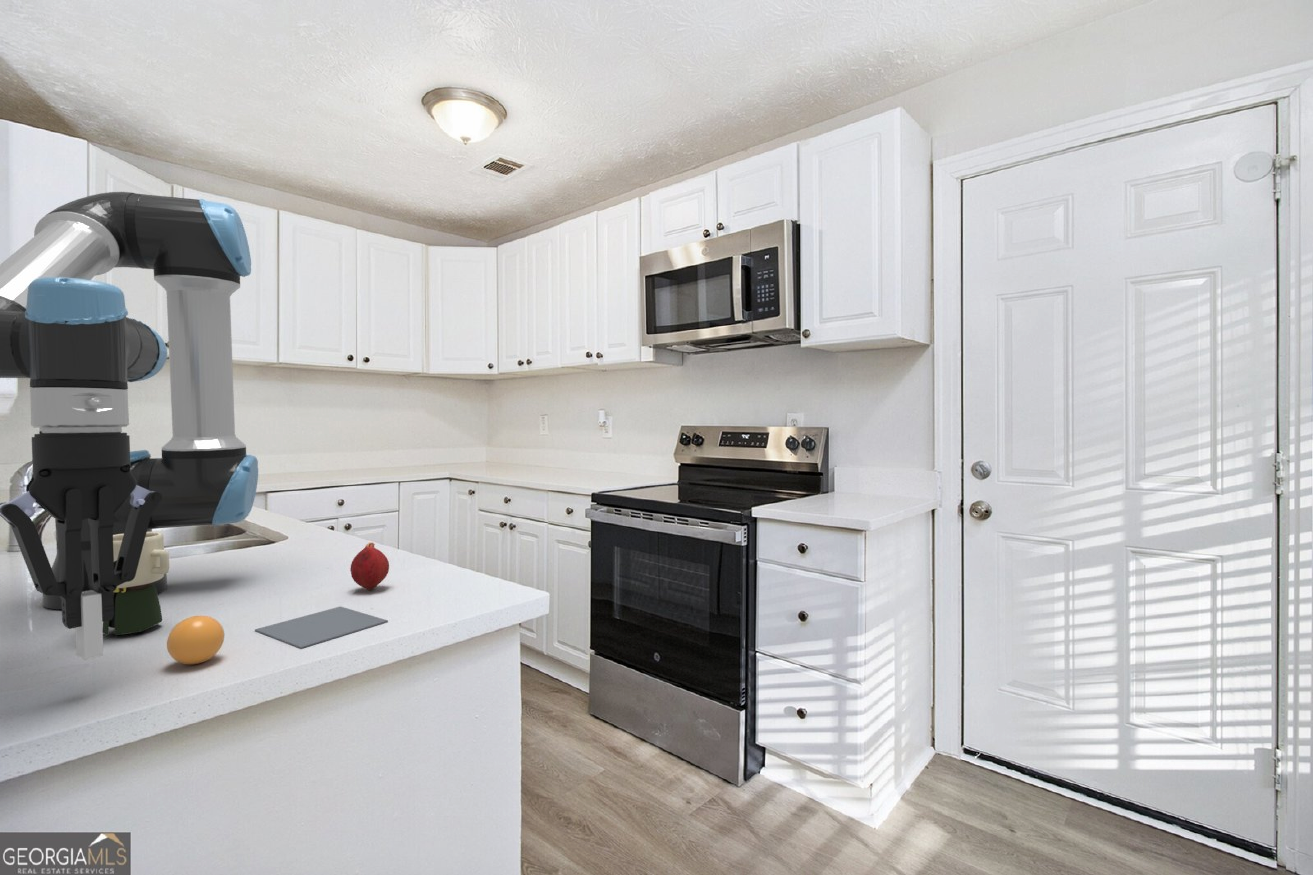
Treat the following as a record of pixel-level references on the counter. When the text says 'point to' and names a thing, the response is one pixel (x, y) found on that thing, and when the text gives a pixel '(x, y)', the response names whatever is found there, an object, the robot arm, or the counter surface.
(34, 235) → the robot arm
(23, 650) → the counter surface
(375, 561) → the onion
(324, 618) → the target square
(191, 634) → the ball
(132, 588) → the character mug
